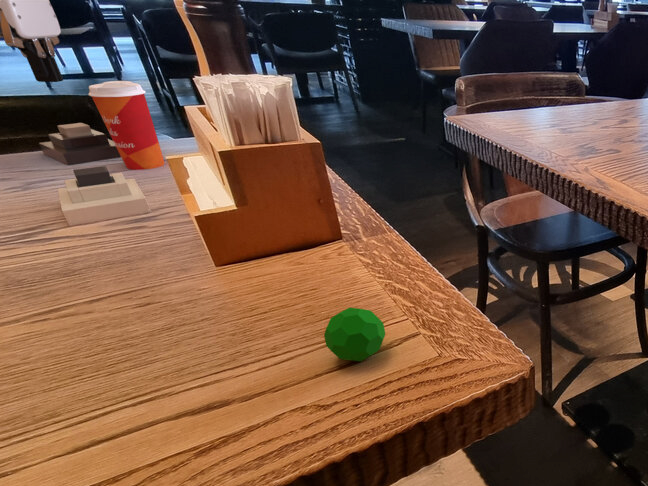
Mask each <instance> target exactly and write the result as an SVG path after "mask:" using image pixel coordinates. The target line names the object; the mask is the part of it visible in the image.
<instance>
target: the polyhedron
mask: <svg viewBox="0 0 648 486" xmlns="http://www.w3.org/2000/svg"><path fill="white" fill-rule="evenodd" d="M323 336H324V341H325V345H326V347H327V349H329V351H330V352H332V353H333V354H334V355H335V356H336V357H337V358H338V359H339V360H344V361H345V360H346V361H354V362H363V361H364V360H366V359H368V358H369V357H370V356H372V355H373V354H376V353H377V352H379V351H380V349H381V347H382V343H383V342H384V339H385V336H386V330H385V325H384V322H383V321H382V320H381V319H380V318H379V316H377V314H375V313H374V312H373V311H372V310H371V309H366V308H365V309H364V308H357V307H347V308H345V309H344V310H342V311H340V312H338V313H336V314H335V315H333V316H331V317H330V319H329V321H328V324H327V326H326V327H325V330H324V334H323Z"/></svg>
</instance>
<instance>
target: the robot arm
mask: <svg viewBox="0 0 648 486" xmlns="http://www.w3.org/2000/svg"><path fill="white" fill-rule="evenodd" d="M61 33H62V31H61V26H60V23H59V20H58V18H57V15H56V13H55V11H54V8H53V6H52V4H51V2H50V0H0V38H1V39H2V38H3V40H4V43H5V45H6V46H8V47H11V48H14V49H15V48H16V49H17V50H19V52H20V53H21V56H22V57H24V58H26V61H27V63H28V65H29V67H30V69H31V71H32V75H33V76H34V78H35V80H36V82H39V83H59V82H63V81H64V78H63V75H62V73H61V70H60V68H59V66H58V63H57V60H56V58H55V57H56V52H55V48H54V47H55V46H56V45H58V44H59V43H60V39H59V37H58V36H59V35H60V34H61Z"/></svg>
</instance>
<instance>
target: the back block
mask: <svg viewBox="0 0 648 486" xmlns="http://www.w3.org/2000/svg"><path fill="white" fill-rule="evenodd" d="M90 129H91V131H92V133H93V135H85V136H78V137H70V138H66V137H64V136H62V135H61V133H60V132H57V133H48V134H47V135H48V138H49V140H50V141H44V142H38V145H39V147H40V150H41V151H42V153H43V155H44V156H47V157H49V158H51V159H53V160H54V161H55V160H56V161H57V162H59V163H61V164H64V165H65V166H69V167H70V166H75V165H80V164H81V165H83V164H88V163H93V162H100V161H106V160H112V159H118V158H121V156H120V154H119V152H118V150H117V147H116V145H115V143H114V141H113V139H112V140H111V139H109V138H108V136H107V134H106V133H103V132H100V131H98V130H95V129H93V128H90Z"/></svg>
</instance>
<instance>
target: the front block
mask: <svg viewBox="0 0 648 486" xmlns="http://www.w3.org/2000/svg"><path fill="white" fill-rule="evenodd" d="M109 174H110V176H111V179H112V181H113V183H108V184H100V185H93V186H86V187H80V185H79V183H78V181H77V179H76V178H69V179H64V181H63V182H64V184H65V185H64V186H65V187H61V188H57V193H58V198H59V203H60V208H61V212H62V213H63V216H64V217H65V220H66V222H67V224H68V226H69V227H71V226H78V225H84V224H89V223H96V222H103V221H106V220H107V221H108V220H112V219H118V218H124V217H131V216H137V215H141V214H148V213H152V210H151V208H150V205H149V202H148V201H147V198H146V196H145V195H144V193H143V191H142V190H141V188H140V186H139V185H138V183H137V182H136V180H135V178H127V179H126V178H125V176H124V175H123V173H122V172H116V173H109Z"/></svg>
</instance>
